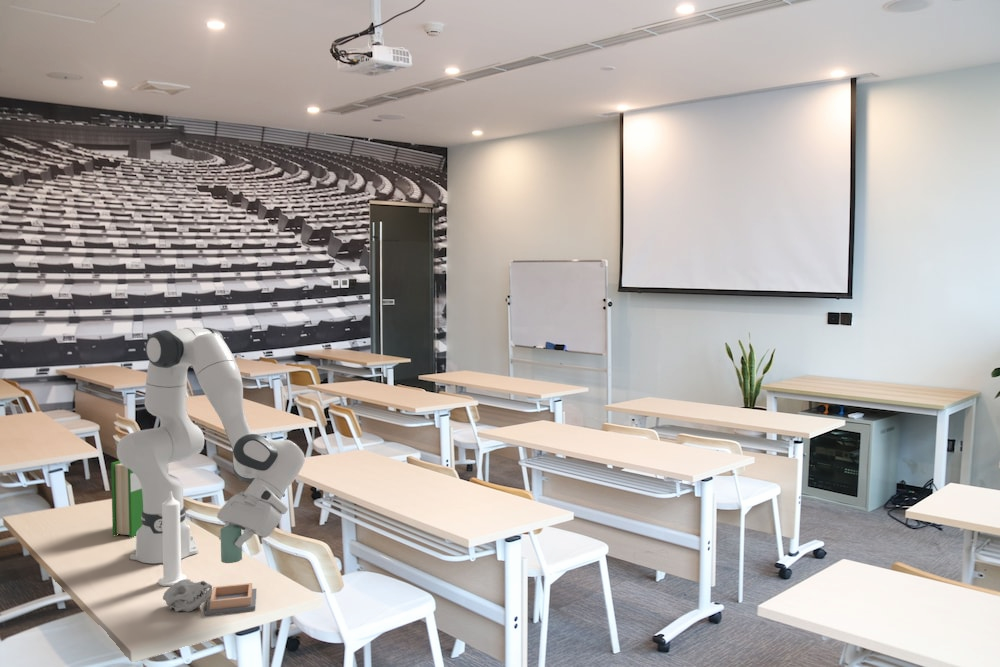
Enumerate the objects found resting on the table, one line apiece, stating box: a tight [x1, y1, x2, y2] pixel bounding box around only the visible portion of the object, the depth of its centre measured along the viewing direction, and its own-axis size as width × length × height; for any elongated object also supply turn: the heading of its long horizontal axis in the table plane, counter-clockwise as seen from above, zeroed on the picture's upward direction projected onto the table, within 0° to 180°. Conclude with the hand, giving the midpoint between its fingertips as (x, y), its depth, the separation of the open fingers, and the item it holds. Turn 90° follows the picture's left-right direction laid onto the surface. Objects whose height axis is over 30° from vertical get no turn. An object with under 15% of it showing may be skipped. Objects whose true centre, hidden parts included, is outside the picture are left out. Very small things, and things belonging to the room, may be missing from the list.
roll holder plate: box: [204, 582, 257, 616], centre depth 190 cm, size 12×12×3 cm
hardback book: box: [110, 460, 170, 538], centre depth 249 cm, size 18×7×24 cm, turn 165°
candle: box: [158, 491, 187, 587], centre depth 204 cm, size 7×7×25 cm
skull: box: [162, 578, 213, 613], centre depth 187 cm, size 8×9×12 cm
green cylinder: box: [220, 526, 243, 564], centre depth 189 cm, size 5×5×8 cm
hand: (228, 543), depth 189 cm, fingers closed on green cylinder, 5 cm apart
